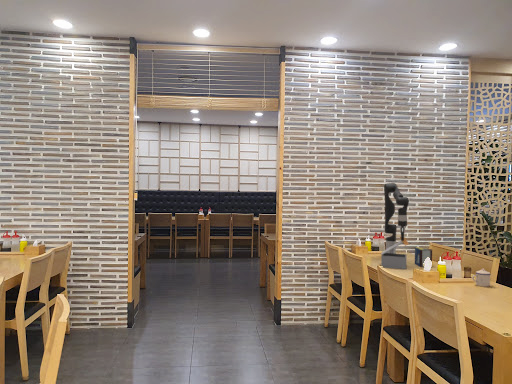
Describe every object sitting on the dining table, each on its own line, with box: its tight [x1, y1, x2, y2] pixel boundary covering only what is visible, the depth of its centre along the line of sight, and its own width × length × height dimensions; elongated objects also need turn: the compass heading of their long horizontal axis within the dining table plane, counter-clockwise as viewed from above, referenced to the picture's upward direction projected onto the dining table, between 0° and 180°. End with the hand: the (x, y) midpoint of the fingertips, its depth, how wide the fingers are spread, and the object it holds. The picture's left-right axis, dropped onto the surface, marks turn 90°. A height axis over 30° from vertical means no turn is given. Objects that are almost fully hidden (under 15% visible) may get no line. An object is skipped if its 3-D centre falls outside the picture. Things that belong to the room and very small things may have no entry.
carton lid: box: [380, 236, 410, 256], centre depth 346 cm, size 18×24×8 cm
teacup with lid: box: [471, 268, 491, 288], centre depth 282 cm, size 12×9×12 cm
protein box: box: [414, 246, 433, 268], centre depth 353 cm, size 10×15×16 cm
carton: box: [380, 253, 408, 270], centre depth 346 cm, size 18×20×10 cm
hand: (402, 240), depth 343 cm, fingers closed
